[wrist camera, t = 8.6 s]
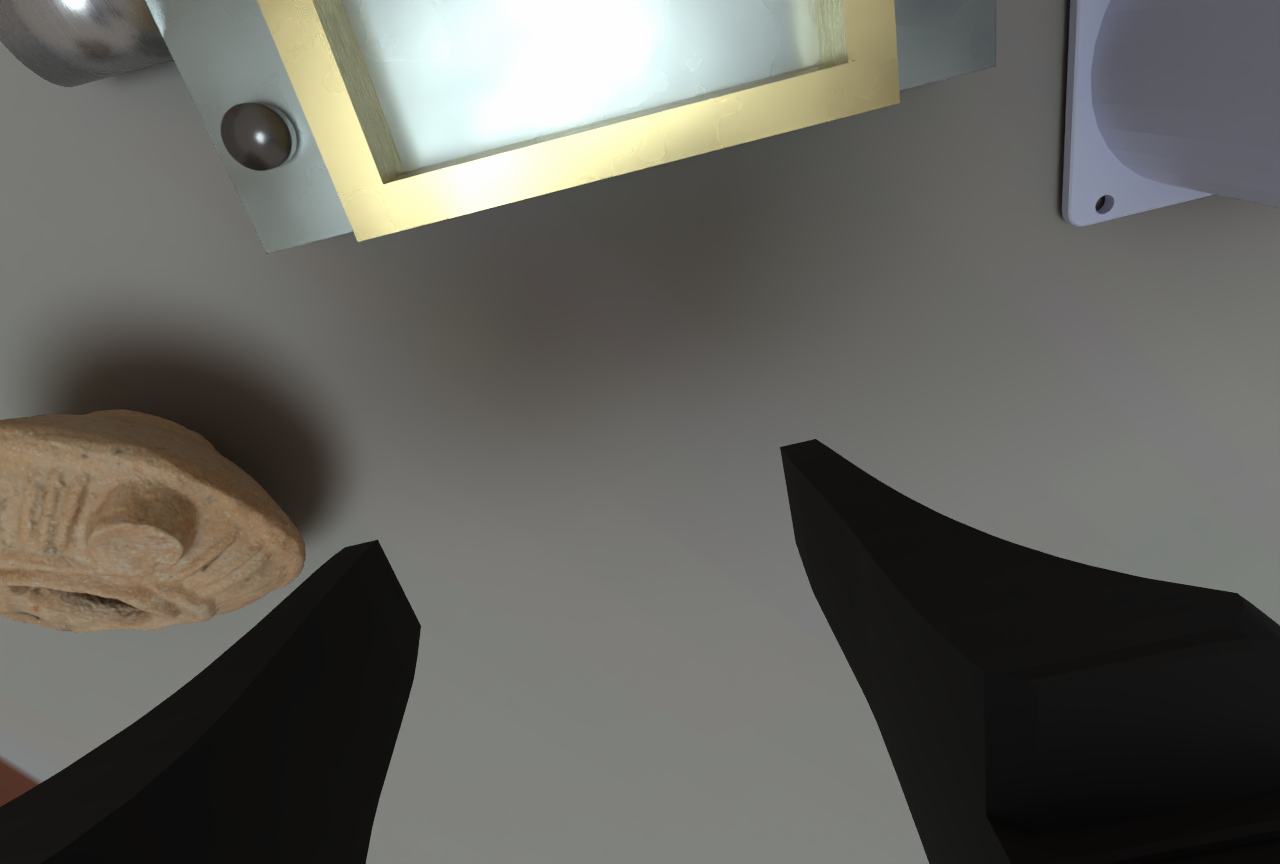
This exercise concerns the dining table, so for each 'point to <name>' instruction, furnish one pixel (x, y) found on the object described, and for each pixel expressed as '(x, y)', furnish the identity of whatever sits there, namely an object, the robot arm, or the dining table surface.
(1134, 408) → the dining table surface
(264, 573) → the pottery oil lamp
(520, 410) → the dining table surface
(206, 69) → the metal tray
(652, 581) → the dining table surface
